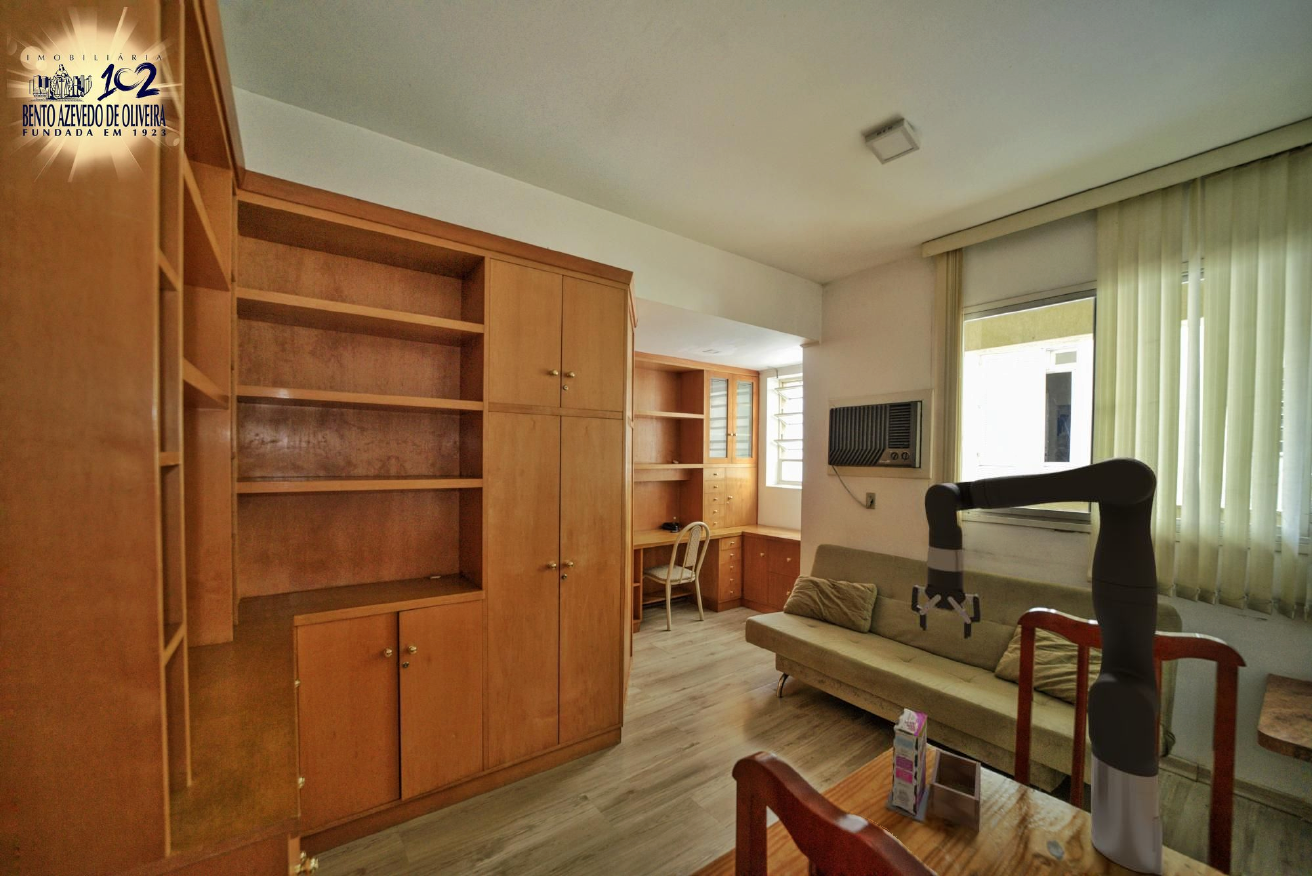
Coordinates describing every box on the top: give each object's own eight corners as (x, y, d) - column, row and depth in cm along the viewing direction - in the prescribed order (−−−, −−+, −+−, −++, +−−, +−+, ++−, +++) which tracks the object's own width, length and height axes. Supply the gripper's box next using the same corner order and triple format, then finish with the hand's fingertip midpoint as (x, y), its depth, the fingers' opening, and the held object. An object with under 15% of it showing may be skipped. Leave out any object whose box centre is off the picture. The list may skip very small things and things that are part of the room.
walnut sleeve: (980, 790, 108) (980, 763, 109) (979, 831, 96) (979, 801, 97) (936, 774, 113) (936, 748, 114) (929, 812, 101) (930, 783, 102)
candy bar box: (917, 817, 99) (918, 736, 100) (891, 806, 102) (892, 727, 103) (927, 788, 108) (928, 714, 108) (902, 778, 111) (903, 706, 112)
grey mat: (929, 789, 108) (929, 788, 108) (923, 823, 98) (923, 821, 98) (895, 777, 112) (895, 775, 112) (886, 808, 102) (886, 806, 102)
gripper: (980, 567, 116) (980, 636, 115) (913, 559, 124) (913, 623, 123) (980, 574, 110) (980, 646, 109) (910, 564, 118) (909, 631, 117)
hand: (944, 633), depth 116 cm, fingers open, 8 cm apart
